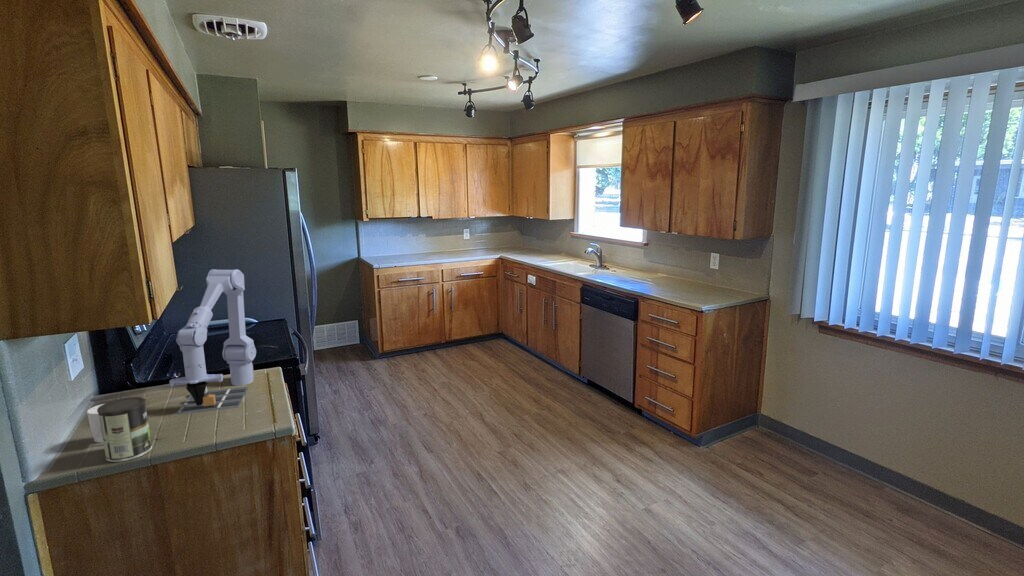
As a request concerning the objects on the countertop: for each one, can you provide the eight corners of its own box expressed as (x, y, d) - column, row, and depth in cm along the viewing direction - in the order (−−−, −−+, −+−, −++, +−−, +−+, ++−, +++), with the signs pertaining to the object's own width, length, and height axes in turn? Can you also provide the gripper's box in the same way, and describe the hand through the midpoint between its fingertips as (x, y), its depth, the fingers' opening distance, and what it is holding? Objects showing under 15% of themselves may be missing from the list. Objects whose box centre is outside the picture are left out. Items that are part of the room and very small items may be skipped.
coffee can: (148, 440, 143) (141, 393, 141) (155, 452, 136) (149, 404, 133) (102, 452, 136) (94, 404, 133) (108, 466, 129) (99, 415, 126)
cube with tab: (197, 392, 173) (196, 383, 172) (207, 391, 174) (206, 382, 173) (195, 394, 171) (194, 385, 170) (205, 393, 172) (204, 384, 171)
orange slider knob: (205, 404, 163) (204, 393, 163) (215, 402, 164) (214, 392, 164) (203, 406, 161) (202, 396, 161) (214, 405, 162) (213, 395, 162)
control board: (191, 396, 175) (191, 392, 175) (248, 389, 180) (248, 386, 180) (174, 418, 157) (174, 414, 157) (238, 410, 163) (238, 406, 162)
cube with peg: (192, 399, 167) (191, 389, 167) (202, 398, 168) (201, 388, 168) (190, 401, 165) (189, 391, 165) (201, 400, 166) (200, 390, 166)
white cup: (121, 431, 148) (116, 400, 146) (131, 439, 144) (126, 406, 142) (88, 442, 142) (82, 409, 140) (97, 450, 137) (92, 416, 136)
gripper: (164, 370, 154) (169, 412, 156) (217, 365, 158) (222, 406, 160) (171, 363, 160) (176, 403, 163) (222, 359, 165) (226, 397, 167)
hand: (199, 404), depth 162 cm, fingers closed
